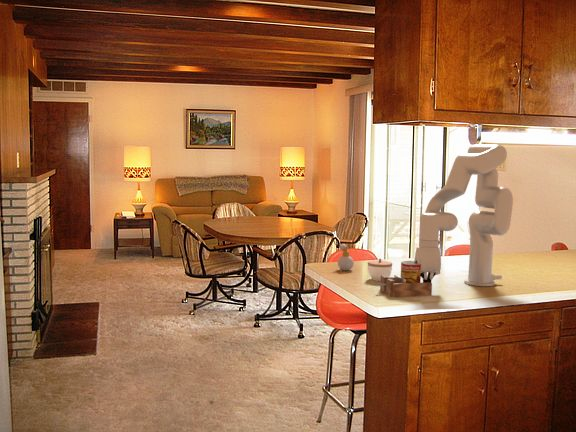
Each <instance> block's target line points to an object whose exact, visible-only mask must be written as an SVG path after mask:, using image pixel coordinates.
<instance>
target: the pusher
mask: <svg viewBox="0 0 576 432" xmlns="http://www.w3.org/2000/svg"><path fill="white" fill-rule="evenodd" d="M393 275H394V276H393V277H394V283H406V279H404V278H402V277H401V275H399V274H393ZM380 286H386V284H380V283H377V287H380Z"/></svg>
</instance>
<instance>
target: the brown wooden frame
mask: <svg viewBox="0 0 576 432" xmlns="http://www.w3.org/2000/svg"><path fill="white" fill-rule="evenodd" d="M379 284H386V286H379V288H380V289H379V290H380V291H381V292H382V293H385V294H386V295H388V297H389V296H390V297H393V298H396V297H397V298H398V297H402V298H403V297H430V296H432V293H433V283H432V281H431V282H427V283H423V282H420V283H394V276H389V277H387V276H385V275H381V281H380V282H379Z"/></svg>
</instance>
